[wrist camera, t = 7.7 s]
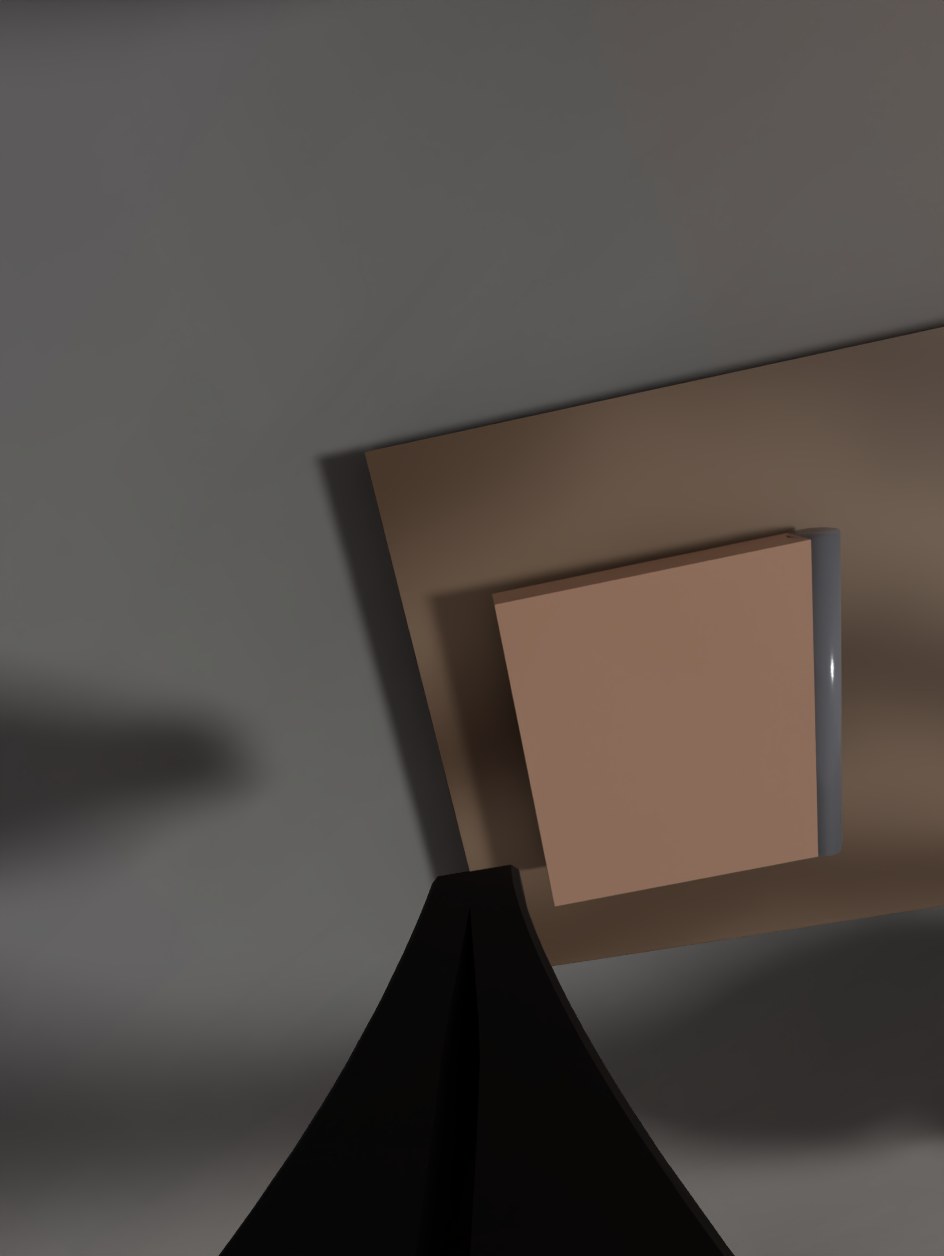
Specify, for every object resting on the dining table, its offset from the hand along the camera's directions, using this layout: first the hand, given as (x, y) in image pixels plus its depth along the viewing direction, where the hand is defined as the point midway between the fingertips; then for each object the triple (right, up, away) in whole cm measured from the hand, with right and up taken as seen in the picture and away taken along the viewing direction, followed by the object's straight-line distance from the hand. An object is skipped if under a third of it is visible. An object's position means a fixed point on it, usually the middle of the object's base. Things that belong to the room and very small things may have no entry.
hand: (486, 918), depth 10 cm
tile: (+5, +2, +4) cm, 6 cm away
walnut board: (+8, +4, +6) cm, 10 cm away
